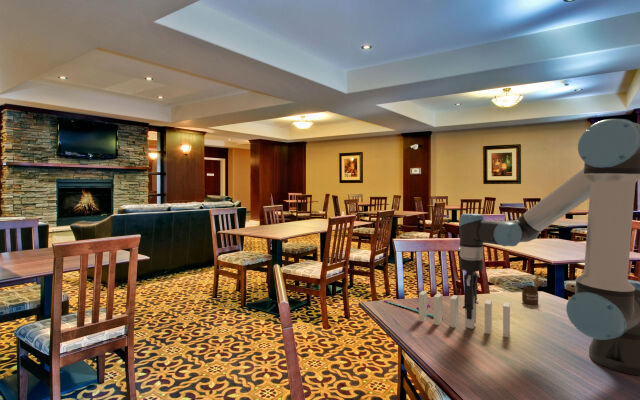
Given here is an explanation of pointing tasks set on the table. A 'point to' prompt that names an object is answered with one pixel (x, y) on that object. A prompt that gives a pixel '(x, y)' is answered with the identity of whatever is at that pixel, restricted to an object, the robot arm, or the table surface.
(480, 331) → the table surface
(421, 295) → the domino
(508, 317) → the domino
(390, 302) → the squeegee
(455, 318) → the domino
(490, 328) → the domino
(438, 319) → the domino
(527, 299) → the utensil holder
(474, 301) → the domino
